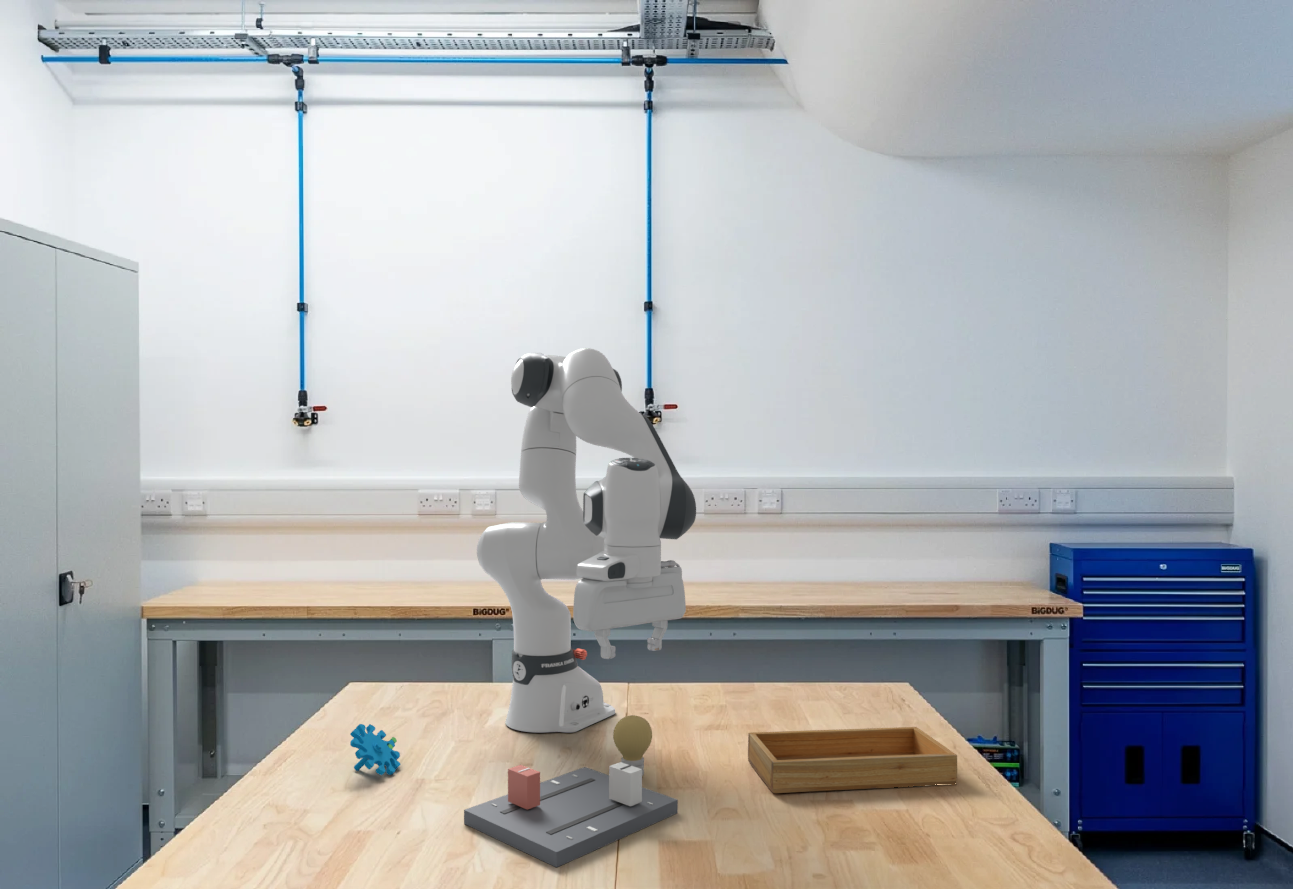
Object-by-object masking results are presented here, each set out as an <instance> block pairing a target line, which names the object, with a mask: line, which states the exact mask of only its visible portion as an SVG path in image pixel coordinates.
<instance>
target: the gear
mask: <svg viewBox="0 0 1293 889" xmlns="http://www.w3.org/2000/svg"><path fill="white" fill-rule="evenodd" d="M375 730H376V727H375V725H373V724H370V723H369V724H368V725H367V726H366V725H365V724H363V723H359V724H357V726H356V727H355V728H354V729H353V730H352V731H351V732H350V736H351V737H352V739H351V740H350V744H349V745H350V746H351V747H352V748H356V749H357V750H356V751H355V752H354V754H355V756H356V758H357V759H358V760H359V761H358V762H357V763H356V764H354V766H353V769H354V770H355V771H357V772H358V771H360V770H361V769H362V768H363V767H364V766H365V767H366V769H368V770H371V769H372V768H373V767H375V764H376V765H377V766H378V767H377V768H376V769H375V772H376V773H377V775H380V776H383V775H384V774H385V773H386V775H389V776H392V775H393V774H394V773H395V772H396V770H397V769H398V768H400V766H401V762H400V761H399V759H400V757H401V753H400V751H397V750H394V747H396V743H397V738H396V737H394V736H392V737H391V738H390V739H388V740H384V738H385V737H387V733H386V732H385V731H384V730H382V729H381V730H379V731H378V732H377V734H374V731H375ZM385 767H386V768H385Z"/></svg>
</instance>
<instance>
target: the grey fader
mask: <svg viewBox="0 0 1293 889" xmlns="http://www.w3.org/2000/svg"><path fill="white" fill-rule="evenodd" d="M608 768H609V769H608V770H609V771H608V775H609V799H612V800H615V801H617V802H620V803H623V804H625V805H628V806H633V805H635V804H638V803H640V802H642V787H643V778H642V777H643V776H642V769H640V768H637V767H634V766H631V765H628V764H625V763H622V762H621V761H619V762H617V763H613V764H611V765H609V766H608Z"/></svg>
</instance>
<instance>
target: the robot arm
mask: <svg viewBox="0 0 1293 889" xmlns="http://www.w3.org/2000/svg"><path fill="white" fill-rule="evenodd" d="M510 385H511V394H512V395H513V397H514V399H515V401H517V403H519V404H522V405H524V406H527V407H530V409H529V410H528V413H527V416H526V420H525V423H524V424H525V425H524V429H523V434H522V440H521V449H520V460H519V462H520V463H519V477H518V488H519V492H520V493H521V496H523V498H525V499H526V500H527V501H528V502H530V503H531V504H533V505H535V506H537V507H538V508H540V509H543V510H544V511H545V513H546V521H543V522H522V521H521V522H515V521H514V522H511V521H510V522H505V523H500V524H495V525H490V526H487V527H486V529H484V530H483V532H482V533H481V534H480V536H479V539H478V541H477V545H476V558H477V561H478V563H479V566H480V567H481V569H482V570H483V571H484V572H485V573H486V574H487V575H488V576H489V577H490V578H492V579H493V580H494V581H495V582H496V583H497V584H498V585H499V587H500V588H501V590H502V591H503V593H504V594H505V596H506V598H507V600H508V603H509V606H510V609H511V612H512V613H511V614H512V615H511V617H512V624H513V627H512V628H513V649H512V651H511V671H512V683H511V684H512V685H511V686H512V687H511V693H510V699H509V700H510V702H509V706H508V710H507V715H506V718H505V722H504V723H505V726H507V727H509V728H510V729H512V730H516V731H521V732H527V733H576V732H578V731H581V730H583V729H585V728H587V727H589V726H591V725H593V724H595V723H598V722H600V721H602V720H605V719H607V718H609V717H612V716H614V715H615V714H616V708H615V707H614V706H613V705H611V704H609V703H606V702H605V701H604V693H603V692H604V691H603V688H602V685H601V683H600V682H599V681H598V679H596V678H594V677H593V676H592V675H590V674H589V673H588V672H587V671H585V670H583V669H582V668H581V667H580V666H578V665H579V664H578V661H577V659H580V660H582V661H584V660H586V659H587V658H586V657H588V651H587V650H586V649H582V648H580V647H579V648H576V649H574V648H573V647H572V646H571V643H572V642H571V640H572V639H571V637H572V635H571V634H572V633H571V632H572V631H571V630H572V627H571V626H572V624H571V623H572V620H571V619H572V615H571V612H570V609H569V607H568V606H567V605H566V603H564V602H563V601H562V600H560V599H558V598H557V597H555V596H553V595H551V594H549V593H548V592H547V591H546V590H545V588H544V585H542V580H566V581H567V580H568V581H569V580H571V581H575V580H578V582H577V584H576V585H575V590H574V593H573V607H572V608H573V609H572V610H573V612H572V613H573V622H574V625H575V626H576V628H577V629H579V630H581V631H585V632H590V633H591V632H594V637H595V639H596V641H597V643H598V645H599V646H600V657H601V658H602V659H605V660H610V659H614V658H616V646H615V645H611V643H610V640H609V637H611V629H618V628H624V627H625V628H626V627H632V626H639V625H646V624H651V626H652V627H654V628H653V631H652V634H651V636H650V637H648V638H647V646H646V647H647V650H648V651H653V652H655V651H661V650H662V648H663V647H662V645H663V641H662V640H663V638H664V637H665V634H666V632H667V630H668V621H672V620H679V619H682V618H683V617H684V616H685V614H686V608H687V606H686V604H687V603H686V594H685V593H686V592H685V585H684V580H683V570H682V567H681V566H680V564H679V563H677V562H676V560H674V559H669V560H665V561H664V560H662V549H661V548H662V542H661V540H662V539H666V540H679V538H681V537H682V536H683V535H684V534H686V533H687V532H688V531H689V530H690V529H691V528H692V526H693V525H694V523H695V521H696V517H697V503H696V498H695V495H694V493H693V491H692V489H691V488H690V486H689V485H688V484H687V482H686V480H684V478H683V477H682V476H681V474H680V473H679V471H678V469H677V467H676V465H675V464H674V461H673V460H672V458H671V456H670V455H669V453H668V450H667V449H666V446H665V445H664V443H663V441H662V439H661V437H660V435H659V433H658V432H657V431H656V428H655V427H654V425H653V422H652V421H651V420H650V419H649V418H648V417H647V416H645V415H644V414H643V413H641V412H639V411H638V410H637V409H635V407H634V406H632V405H631V403H630V402H629V401H628V400H627V398H625V396H624V395H623V392H622V391H623V383H622V378H621V376H620V373H619V371H618V370H616V369H614V368H613V366H612V364H611V363H610V361H609V360H608V358H607V357H606V355H605V354H603V353H602V352H600V351H599V350H597V349H594V348H591V347H590V348H588V347H585V348H584V347H583V348H579V349H575V350H574V351H572V352H570V353H569V354H568V355H567V356H562V355H550V354H544V353H542V352H529V353H525V354H523V355H521V356H520V357H519V358H518V359H517V360H516V362H515V365H514V367H513V370H512V372H511V378H510ZM577 438H578V439H580V440H581V441H583V442H586V443H588V444H590V445H594V446H598V447H602V448H607V449H611V450H615V451H618V452H621V453H625V454H626V455H628V456H631V457H619V458H615V459H613V460H611V461H610V462H609V463H608V465H607V469H606V473H605V474H606V475H605V476H604V477H603V478H602V479H600V480H596V481H594V482H593V483H591V485H589V487H588V488H587V489H585V491H584V493H583V499H582V500H583V501H582V504H583V505H582V507H583V508H581V505H580V503H579V499H578V495H577V486H576V480H577V479H576V467H577V466H576V464H577Z"/></svg>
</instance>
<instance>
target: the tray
mask: <svg viewBox="0 0 1293 889" xmlns="http://www.w3.org/2000/svg"><path fill="white" fill-rule="evenodd" d="M747 736H748V739H747V740H748V741H747V745H748V746H747V761H748V763H749V764H750V766H752V768H753V769H754V770H755V772H756V773H757V775H758V776H759V777H760V778H761V779H762V781H763V782H764V783H765V785H766V786H767V787H768V789H769V790H770V791H771V792H772V794H783V793H784V794H785V793H786V794H787V793H801V792H802V793H803V792H804V793H806V792H823V791H824V792H826V791H842V790H844V791H846V790H847V791H848V790H870V789H873V790H874V789H894V787H898V788H914V787H913V786H923V787H926V786H925V785H935V784H936V785H937V784H955V783H957V781H958V754H956V752H954V751H952V750H950V749H949V748H948V747H946V746H945V745H943V744H942V743H940V742H939V741H938V740H937V739H935V738H933V737H932V736H930V735H929V734H928V733H926V732H924V731H923V730H921V729H920V728H919V727H917V726H902V727H901V726H900V727H897V726H896V727H875V728H873V727H872V728H869V727H867V728H847V729H846V728H844V729H842V728H841V729H839V728H838V729H815V730H812V729H811V730H789V731H788V730H787V731H786V730H783V731H782V730H781V731H757V732H748V735H747ZM908 786H909V787H908Z"/></svg>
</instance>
